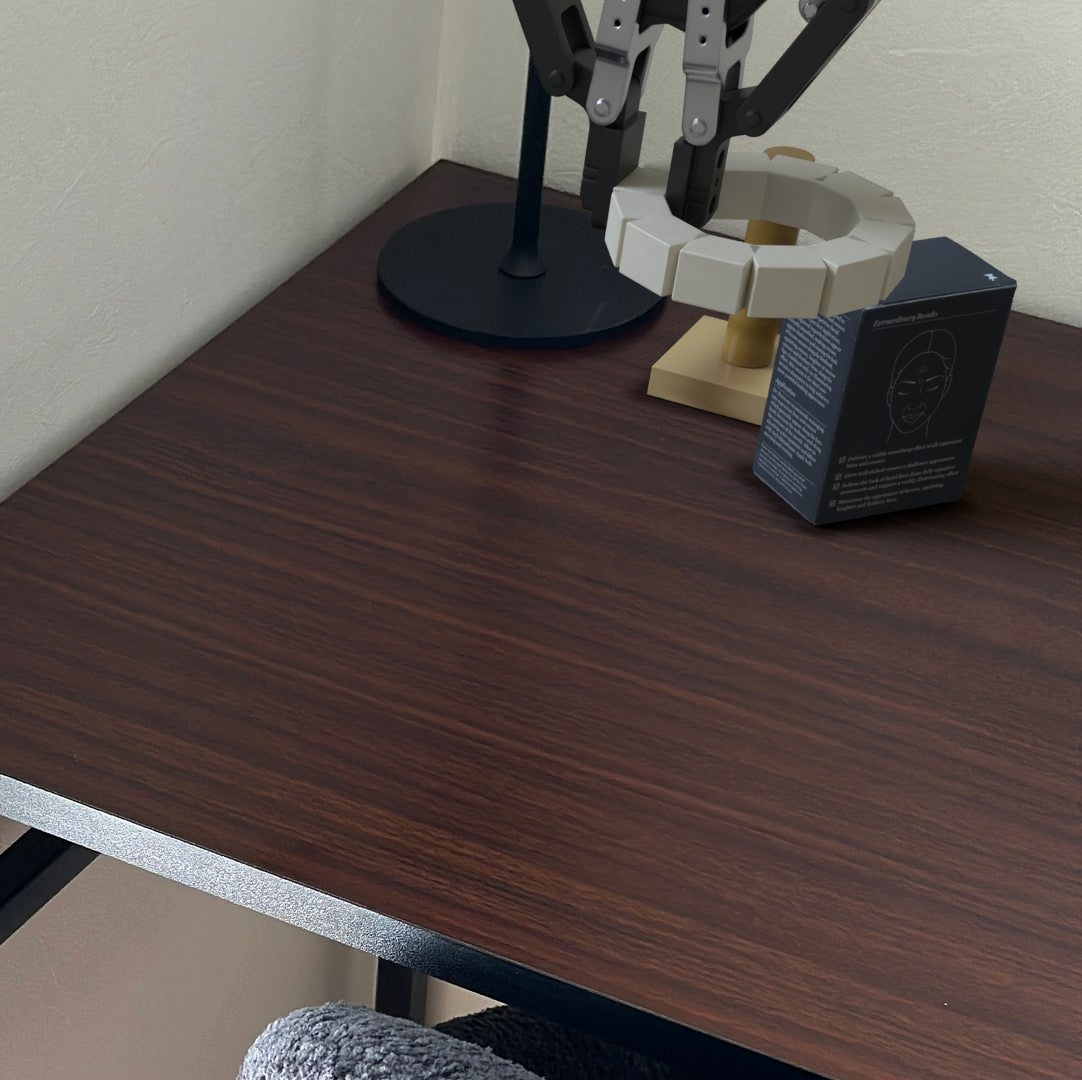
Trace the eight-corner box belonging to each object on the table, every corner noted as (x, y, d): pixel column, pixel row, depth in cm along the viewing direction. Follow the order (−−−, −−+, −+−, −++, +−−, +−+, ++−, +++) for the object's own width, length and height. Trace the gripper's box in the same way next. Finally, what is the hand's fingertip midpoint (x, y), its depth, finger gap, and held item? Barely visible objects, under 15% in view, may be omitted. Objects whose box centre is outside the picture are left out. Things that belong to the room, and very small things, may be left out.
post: (832, 377, 117) (886, 148, 110) (784, 432, 112) (838, 197, 105) (698, 342, 120) (743, 116, 112) (646, 394, 115) (689, 162, 108)
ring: (935, 239, 83) (948, 189, 82) (849, 344, 77) (861, 291, 76) (667, 180, 87) (675, 131, 86) (563, 275, 81) (570, 224, 79)
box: (891, 448, 111) (947, 231, 105) (961, 505, 107) (1024, 283, 100) (745, 471, 109) (793, 251, 102) (811, 530, 105) (865, 305, 98)
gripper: (990, -309, 72) (865, 237, 83) (569, -364, 78) (505, 157, 89) (920, -260, 67) (797, 314, 78) (476, -321, 73) (420, 224, 84)
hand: (642, 228), depth 84 cm, fingers closed on ring, 2 cm apart
